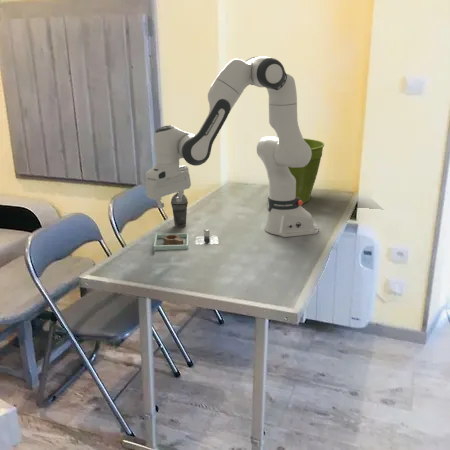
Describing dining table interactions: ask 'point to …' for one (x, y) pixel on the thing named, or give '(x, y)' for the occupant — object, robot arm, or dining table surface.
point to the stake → (206, 238)
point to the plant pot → (308, 171)
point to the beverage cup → (179, 211)
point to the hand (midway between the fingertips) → (170, 204)
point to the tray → (167, 247)
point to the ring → (172, 240)
